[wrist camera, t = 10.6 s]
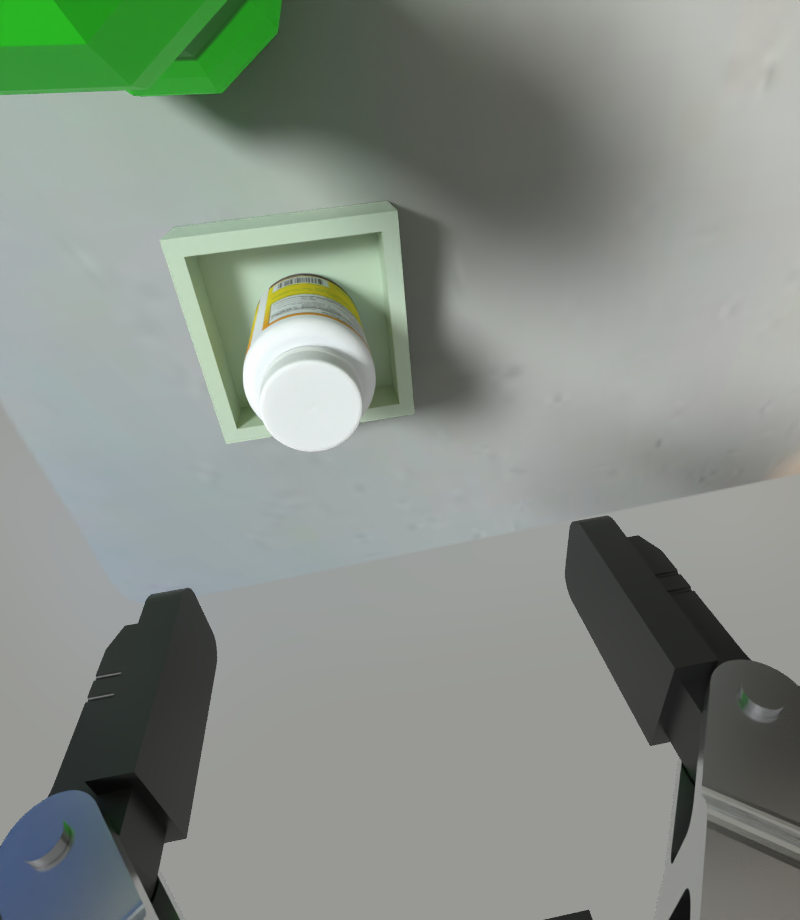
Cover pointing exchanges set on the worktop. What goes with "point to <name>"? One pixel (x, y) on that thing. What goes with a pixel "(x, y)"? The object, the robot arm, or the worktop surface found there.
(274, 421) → the supplement bottle
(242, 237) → the tray
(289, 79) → the worktop surface
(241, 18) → the plastic bottle
